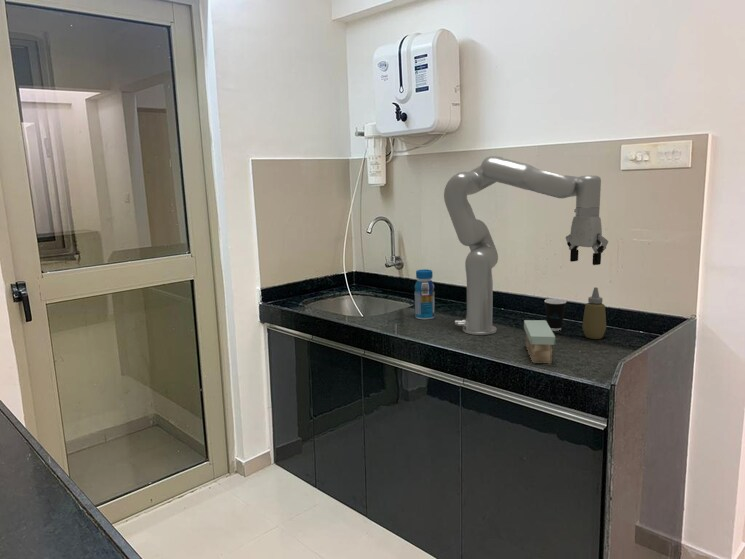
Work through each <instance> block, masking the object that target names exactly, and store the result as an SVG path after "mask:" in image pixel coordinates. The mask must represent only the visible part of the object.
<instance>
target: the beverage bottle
mask: <svg viewBox="0 0 745 559" xmlns="http://www.w3.org/2000/svg"><path fill="white" fill-rule="evenodd" d="M415 275H416V277H415V278H416V279H417V280H416V282H415V284H414V312H415V313H414V316H415V318H416V319H417V320H425V321H426V320H433V319H434V318H435V317H436V315H435V295H436V292H435V290H434V289H435V284H434V282H433V280H432V279H433V269H432V270H431V269H426V268H425V269H418V270H416V271H415Z"/></svg>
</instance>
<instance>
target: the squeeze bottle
mask: <svg viewBox="0 0 745 559" xmlns="http://www.w3.org/2000/svg"><path fill="white" fill-rule="evenodd" d="M587 301H588V302H587V303H585V305H584V312H583V318H582V323H581V324H582V326H581V327H582V331H583V334H584V336H585V338H588V339H590V340H591V339H594V340H599V339H602V338H604V335H605V333H606V330H607V317H606V305H605V304H604V303H603V297H601V296H600V293H599V288H598V287H593V290H592V294H591V296H589V297H588V300H587Z"/></svg>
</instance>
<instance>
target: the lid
mask: <svg viewBox="0 0 745 559" xmlns="http://www.w3.org/2000/svg"><path fill="white" fill-rule="evenodd" d="M523 329H524V331H525V335H526V334H527V336H528V339H529V341H530V344H544V345H552V346H554V345H556V336H555V333H554V331H552V330H551V328H550V327H549V325H548V323H547V319H546V320H545V319H544V320H542V319H541V320H540V319H539V320H537V319H536V320H535V319H533V320H532V319H531V320H530V319H525V320H523Z"/></svg>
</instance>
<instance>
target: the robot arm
mask: <svg viewBox="0 0 745 559" xmlns="http://www.w3.org/2000/svg"><path fill="white" fill-rule="evenodd" d="M496 183H500V184H504V185H507V186H512V187H515V188H519V189H521V190H526V191H530V192H535V193H537V194H542V195H545V196H548V197H553V198H557V199H566V198H570V197H571V198H572V197H575V198H576V199H575V209H574V213H575V216H573V218H572V221H571V225H570V226H571V227H570V234H568V235H566V236H565V241H566V245H567V246H568V250H570V256H569V257H570V258H569V259H570V260H569V261H570V262H571V263H572V262H578V261H579V249H578V248H579V247H583V248H591V249H592V250H593V253H592V266H600V265H601V261H602V253H603V252H604V251H605V250H606V249H607V245H608V244H609V240H608V239H607V238H606V237H604V236H603V234H602V232H603V229H602V227H603V226H602V219H601V217H600V207H601V192H602V190H601V186H602V185H601V184H602V178H601V177H600V176H598V175H581V176H574V175H573V176H572V175H563V174H560V173H559V174H558V173H554V172H552V171H551V172H550V171H546V170H542V169H539V168H536V167H534V166H533V165H531V164H528V163H523V162H520V161H516V160H511V159H508V158H504V157H502V156H497V155H490V156H487V157H485V158H484V159H483V161H482V162H481V164H480V165H479V166H477V167H476V168H473V169H472V170H471V169H470V171H461V172H460V171H459V172H457V173H456V174H454V175H453V176H451V177H450V179H449V180H448V181H447V183H446V184H445V187H444V192H443V199H444V203H445V207H446V209H447V213H448V214H449V217H450V220H451V223H452V226H453V228H454V231H455V233H456V236H457V240H458V241H459V243H461V244H462V245H463V246H465V247H469V249H470V252H469V253H468V254H467V256H466V258H465V262H464V264H465V266H464V267H465V268H464V269H465V274H466V276H465V277H466V317H465V318H463V319H461V320H460V319H455V320H454V326H458V327H462V331H463V332H464V333H465V334H467V335H468V334H469V335H473V336H474V335H476V336H485V335H488V336H489V335H493V334H495V333H497V327H496V326H494V325H493V307H494V306H493V302H494V301H493V295H494V294H493V293H494V292H493V287H494V286H493V285H494V284H493V274H492V273H493V272H492V271H493V270H492V269H493V268H494V267H496V265H497V263H498V262H499V253H498V251H497V248H496V245H495V243H494V240H493V237H492V235H491V233H490V230H489V228H488V226H487V224H486V223H485V222H484V221H482V220H481V219H477V218H476V215H475V213H474V211H473V207H472V206H471V204H470V202H469V200H468V196H470V195H474V194H477V193H479V192H481V191H482V190H485V189H486V188H488V187H490V186H492V185H493V184H496Z"/></svg>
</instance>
